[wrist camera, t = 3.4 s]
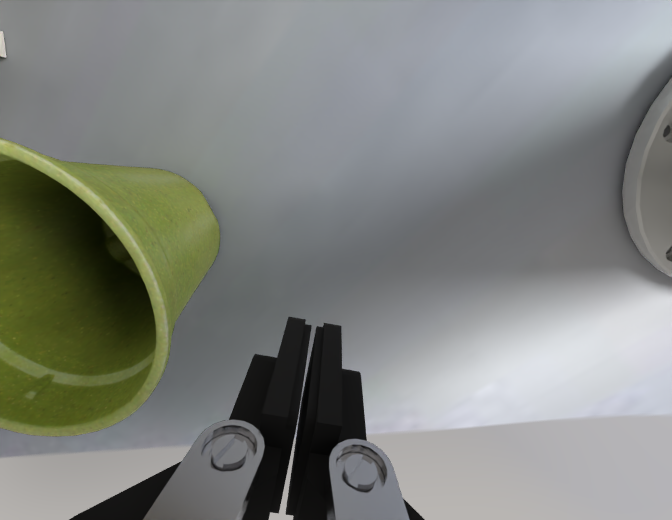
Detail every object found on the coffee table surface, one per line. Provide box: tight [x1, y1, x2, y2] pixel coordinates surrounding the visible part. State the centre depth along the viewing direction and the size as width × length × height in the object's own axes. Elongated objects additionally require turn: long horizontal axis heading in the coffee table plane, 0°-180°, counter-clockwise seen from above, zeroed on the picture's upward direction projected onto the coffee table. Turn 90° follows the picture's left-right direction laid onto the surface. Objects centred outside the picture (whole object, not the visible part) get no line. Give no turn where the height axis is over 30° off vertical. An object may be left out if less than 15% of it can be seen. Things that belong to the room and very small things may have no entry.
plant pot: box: [0, 138, 220, 436], centre depth 14 cm, size 9×9×9 cm
